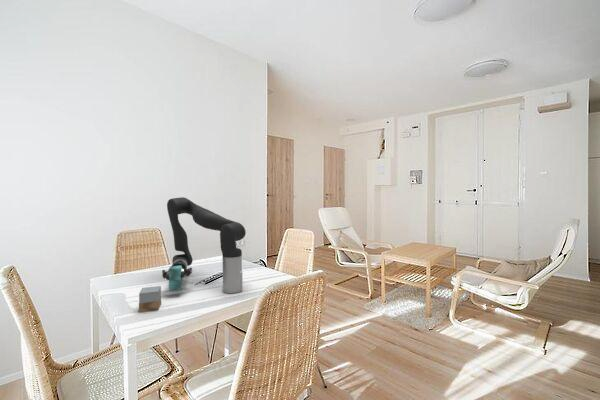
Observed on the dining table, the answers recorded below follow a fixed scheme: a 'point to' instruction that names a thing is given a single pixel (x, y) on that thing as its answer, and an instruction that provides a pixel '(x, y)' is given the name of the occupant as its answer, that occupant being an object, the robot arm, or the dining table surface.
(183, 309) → the dining table surface
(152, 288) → the grey slab
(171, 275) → the teal pillar
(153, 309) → the walnut slab
